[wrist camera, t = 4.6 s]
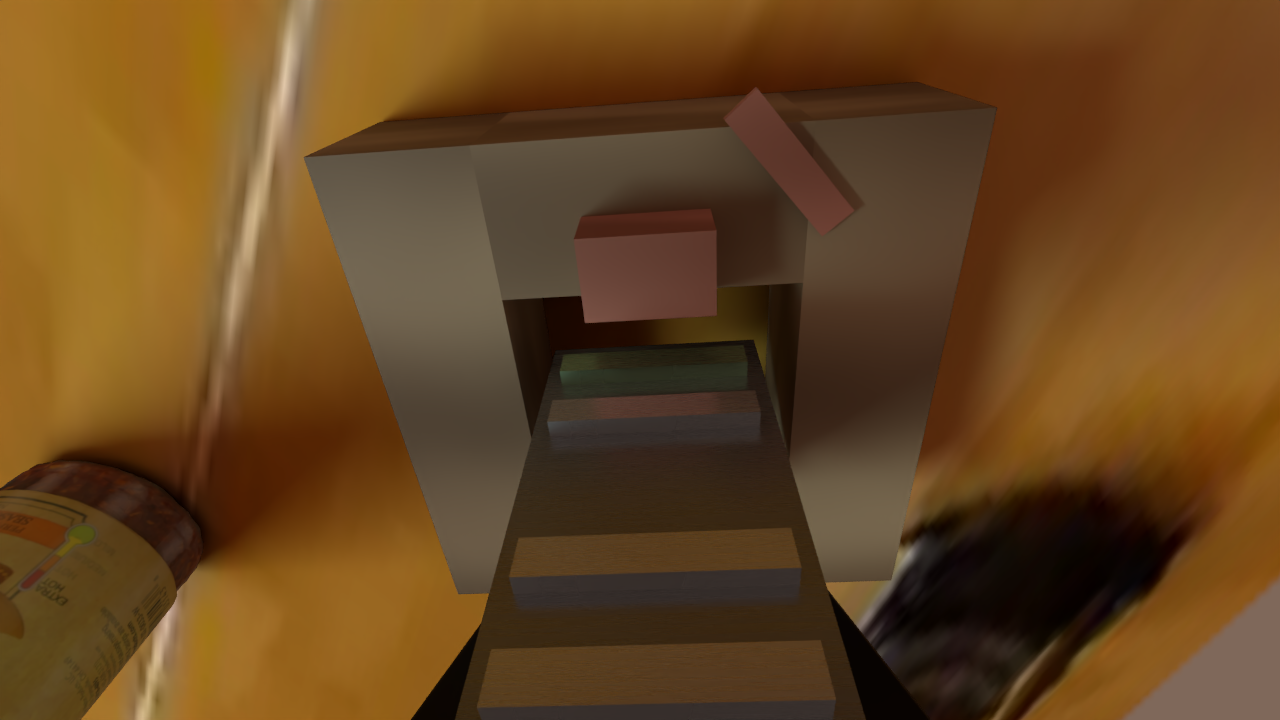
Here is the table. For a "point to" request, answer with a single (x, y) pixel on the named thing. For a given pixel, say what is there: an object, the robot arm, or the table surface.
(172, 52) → the table surface
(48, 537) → the sauce bottle
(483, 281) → the stand base
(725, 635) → the column
